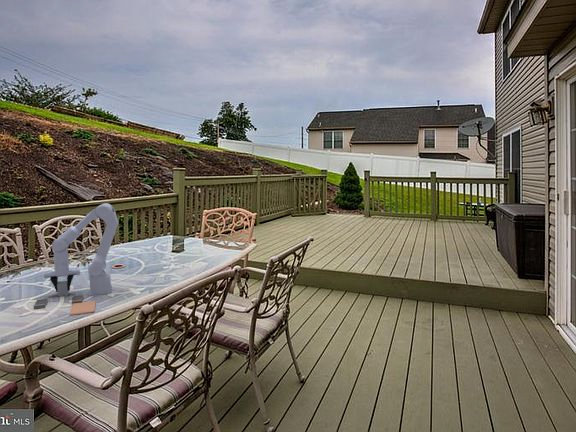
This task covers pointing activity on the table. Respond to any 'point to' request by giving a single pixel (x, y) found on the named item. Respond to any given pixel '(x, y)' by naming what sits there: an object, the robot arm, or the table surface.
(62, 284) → the plug
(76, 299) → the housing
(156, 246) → the table surface
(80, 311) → the mat
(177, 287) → the table surface
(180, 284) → the table surface
